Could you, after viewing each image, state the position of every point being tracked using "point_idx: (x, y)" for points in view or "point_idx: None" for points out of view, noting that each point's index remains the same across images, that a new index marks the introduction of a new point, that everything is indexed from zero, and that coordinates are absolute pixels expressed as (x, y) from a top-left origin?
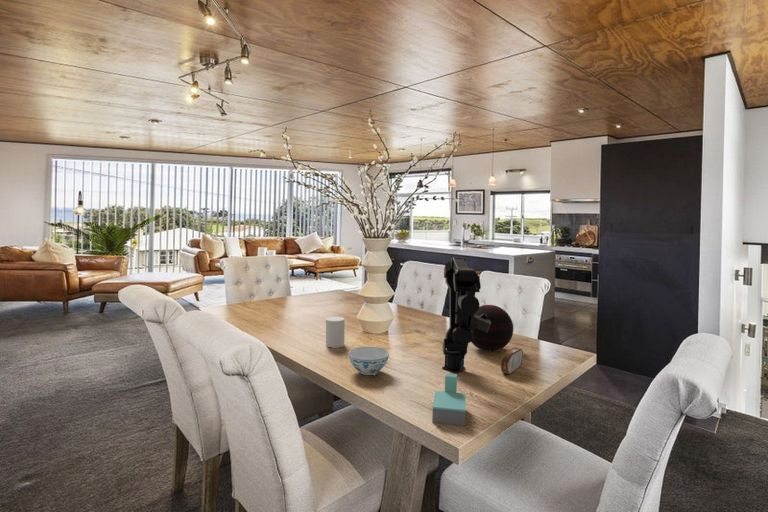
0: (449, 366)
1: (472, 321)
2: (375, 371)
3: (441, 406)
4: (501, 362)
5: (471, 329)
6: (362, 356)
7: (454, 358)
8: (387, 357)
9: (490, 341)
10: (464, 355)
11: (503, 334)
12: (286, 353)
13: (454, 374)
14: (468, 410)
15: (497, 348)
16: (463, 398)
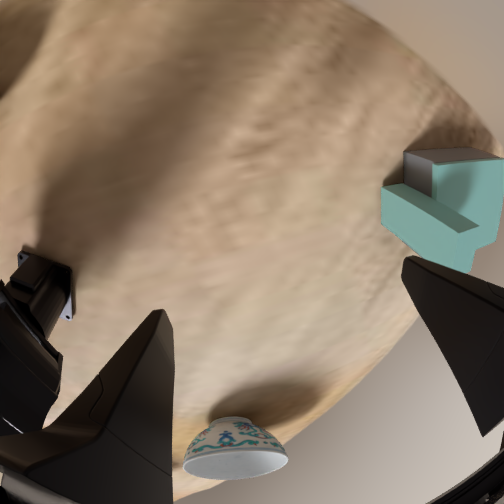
0: (63, 303)
1: None
2: (251, 424)
3: (496, 222)
4: None
5: (19, 478)
6: (208, 459)
7: (42, 310)
8: (232, 446)
9: None
10: (436, 265)
11: None
12: (217, 482)
13: (459, 243)
14: (396, 140)
15: None
16: (466, 169)
